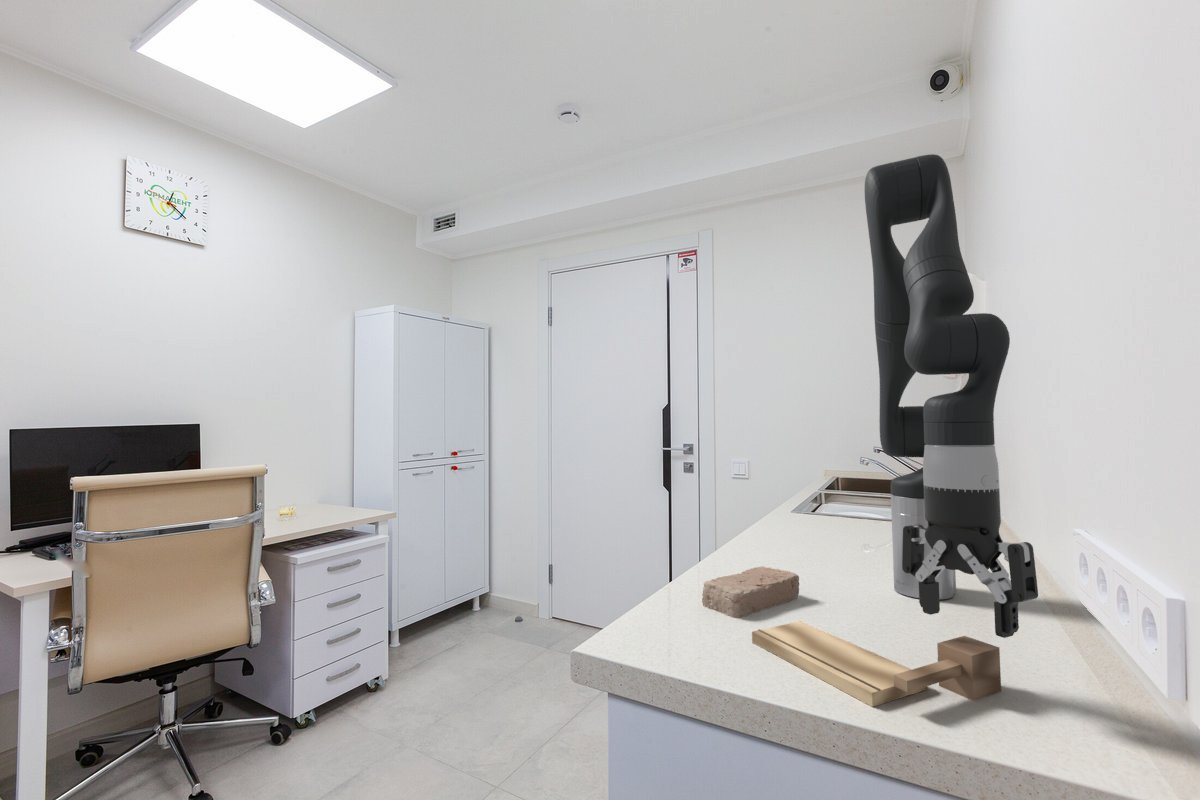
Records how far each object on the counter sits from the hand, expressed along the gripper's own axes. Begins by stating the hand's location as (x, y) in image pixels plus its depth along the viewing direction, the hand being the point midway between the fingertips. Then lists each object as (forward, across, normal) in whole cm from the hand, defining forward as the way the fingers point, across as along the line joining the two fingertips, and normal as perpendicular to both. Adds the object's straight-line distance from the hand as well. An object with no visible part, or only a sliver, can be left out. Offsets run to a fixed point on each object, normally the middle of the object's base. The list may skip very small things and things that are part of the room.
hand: (965, 623), depth 66 cm
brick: (+8, +36, +2) cm, 37 cm away
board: (+8, +12, +9) cm, 17 cm away
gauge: (+8, 0, +4) cm, 8 cm away
